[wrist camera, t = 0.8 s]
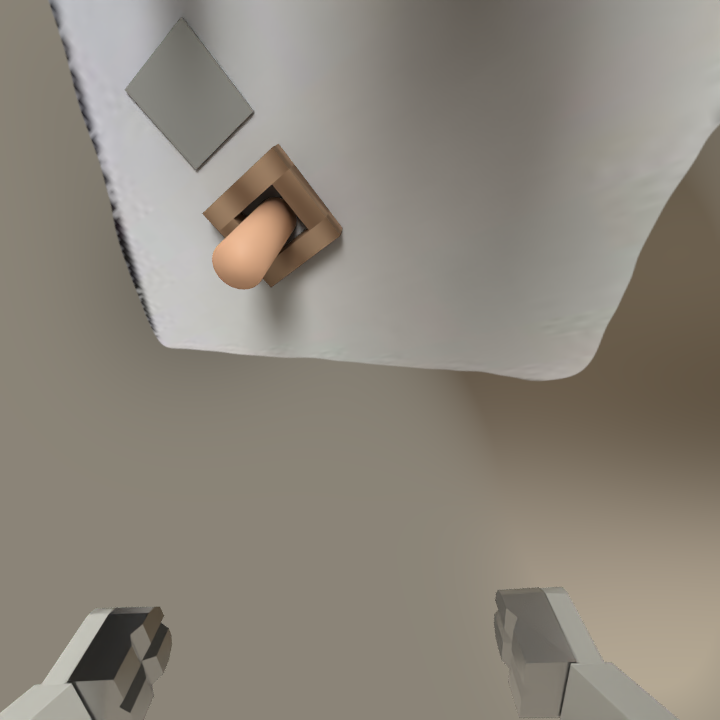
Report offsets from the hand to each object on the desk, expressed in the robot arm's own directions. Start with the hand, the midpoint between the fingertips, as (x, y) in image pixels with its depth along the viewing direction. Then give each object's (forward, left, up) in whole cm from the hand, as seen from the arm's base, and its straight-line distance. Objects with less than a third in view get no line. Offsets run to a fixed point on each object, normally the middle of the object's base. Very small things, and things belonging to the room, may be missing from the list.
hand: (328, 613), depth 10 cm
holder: (+13, -5, -47) cm, 49 cm away
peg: (+13, -5, -47) cm, 49 cm away
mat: (+12, -20, -47) cm, 52 cm away
